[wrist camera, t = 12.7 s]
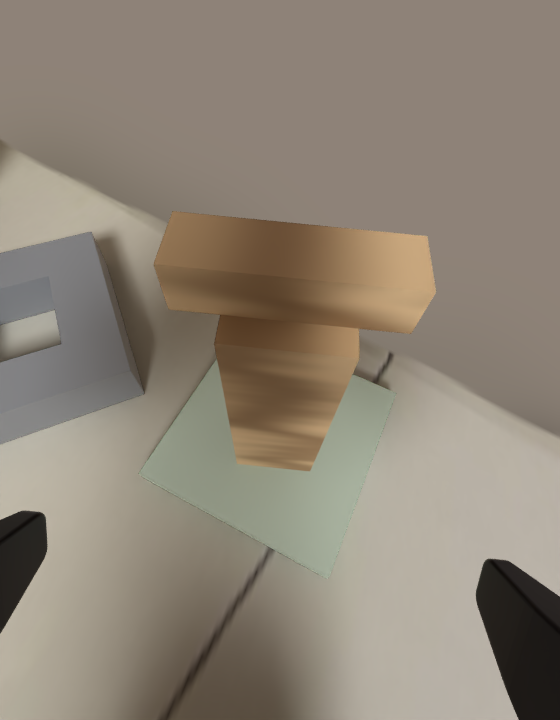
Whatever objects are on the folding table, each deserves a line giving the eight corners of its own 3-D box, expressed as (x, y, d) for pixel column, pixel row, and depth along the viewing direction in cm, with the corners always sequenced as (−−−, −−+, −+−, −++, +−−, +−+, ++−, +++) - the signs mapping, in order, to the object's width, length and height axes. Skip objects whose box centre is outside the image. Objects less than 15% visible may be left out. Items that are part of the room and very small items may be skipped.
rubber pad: (391, 399, 24) (396, 392, 23) (325, 578, 19) (328, 578, 18) (240, 333, 26) (239, 324, 25) (143, 477, 21) (138, 473, 20)
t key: (338, 406, 23) (423, 211, 11) (337, 474, 21) (441, 324, 9) (222, 395, 23) (180, 188, 11) (209, 461, 21) (142, 295, 9)
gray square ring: (106, 262, 29) (91, 231, 27) (144, 393, 24) (130, 370, 21) (-73, 309, 26) (-109, 279, 24) (-75, 470, 21) (-123, 454, 18)
